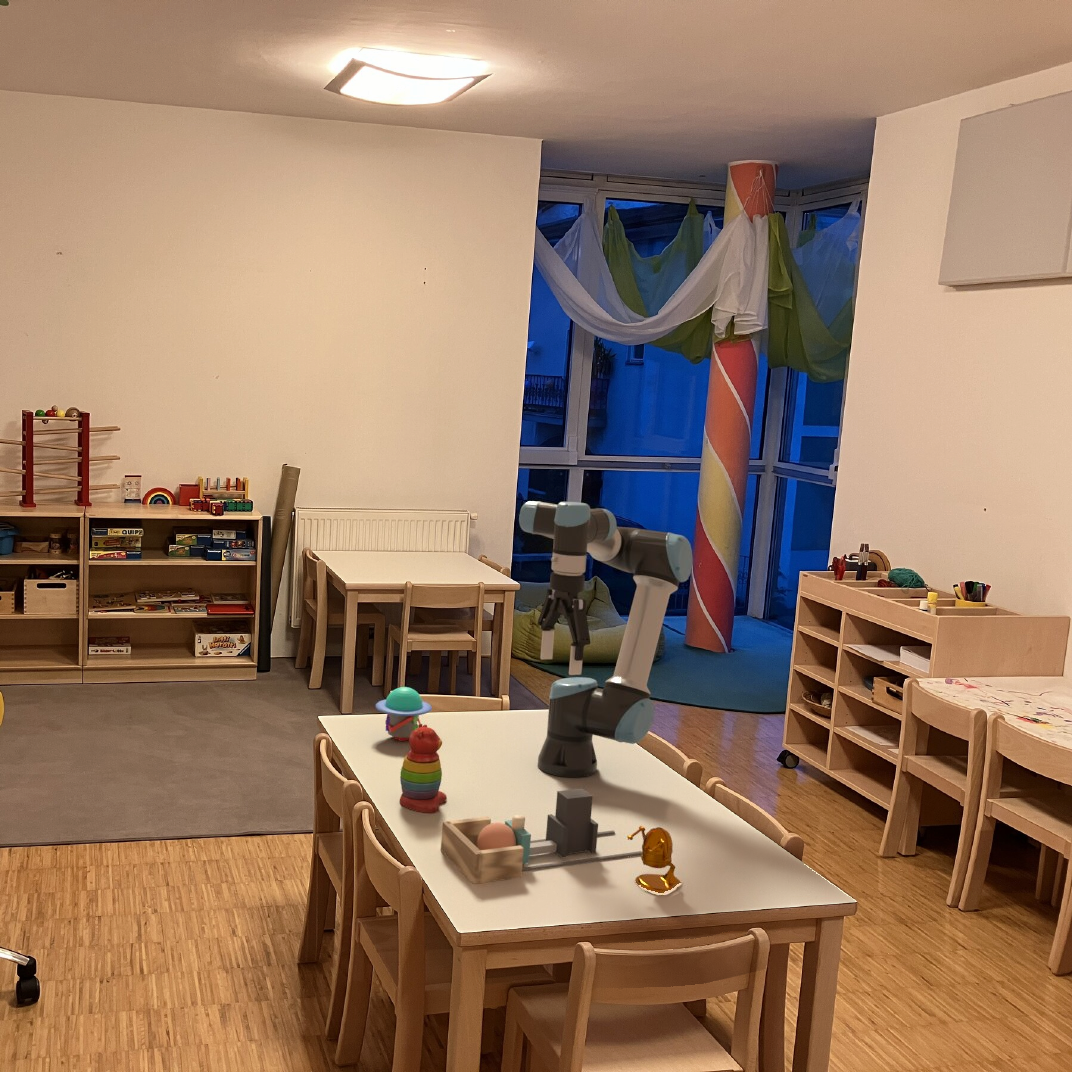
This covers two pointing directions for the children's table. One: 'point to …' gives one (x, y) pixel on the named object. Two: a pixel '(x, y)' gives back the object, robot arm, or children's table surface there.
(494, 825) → the toy ball
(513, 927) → the children's table surface
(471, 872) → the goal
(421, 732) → the stacking bear
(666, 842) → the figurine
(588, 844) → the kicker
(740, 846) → the children's table surface
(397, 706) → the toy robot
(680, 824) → the children's table surface
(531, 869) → the track
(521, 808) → the children's table surface
